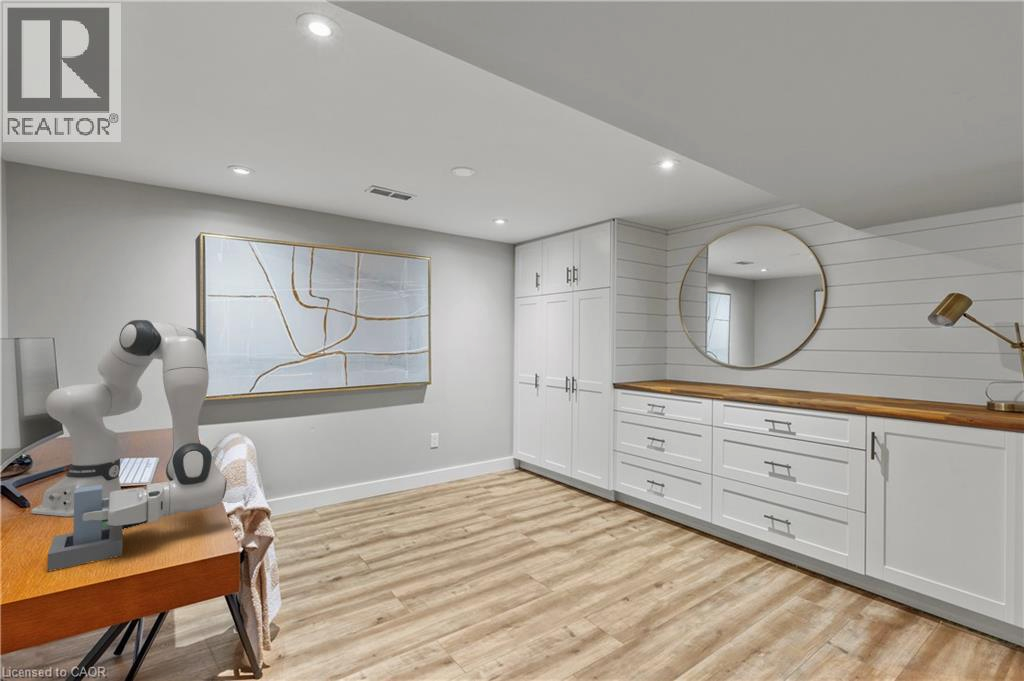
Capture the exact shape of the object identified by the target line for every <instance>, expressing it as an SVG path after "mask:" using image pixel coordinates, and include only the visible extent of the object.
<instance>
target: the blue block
mask: <svg viewBox="0 0 1024 681" xmlns="http://www.w3.org/2000/svg"><path fill="white" fill-rule="evenodd" d="M102 485H103V484H102ZM102 485H95V486H88V487H80V488H76V489H75V492H74V516H73V527H72V528H73V530H72V531H73V532H72V533H73V546H75V545H80V544H85V543H90V542H96V541H101V540H102V520H88V521H83V513H84V512H89V511H102Z"/></svg>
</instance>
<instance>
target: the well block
mask: <svg viewBox="0 0 1024 681" xmlns="http://www.w3.org/2000/svg"><path fill="white" fill-rule="evenodd" d="M123 539H124V538H123V530H122V525H119V526H107V527H102V540H101V541H96V542H90V543H85V544H80V545H75V546H73V532H69V533H64V534H58V535H54V536H53V538H52V541H51V544H50V547H49V550H48V552H47V571H50V570H54V569H60V568H64V569H67V568H66V567H69V568H72V567H71V566H74V567H76V566H75V565H78V564H83V563H86V562H91V561H97V560H101V561H103V560H102V559H106V560H108V559H107V558H111V557H115V556H120V555H122V556H123ZM120 557H121V556H120ZM115 558H116V557H115ZM111 559H112V558H111ZM97 562H98V561H97ZM83 565H84V564H83ZM78 566H79V565H78ZM60 570H61V569H60ZM47 571H46V572H47ZM50 572H51V571H50Z"/></svg>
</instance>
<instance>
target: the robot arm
mask: <svg viewBox="0 0 1024 681" xmlns="http://www.w3.org/2000/svg"><path fill="white" fill-rule="evenodd" d="M205 348H206V340H205V336H204V335H203V333H202V332H200V331H199V330H196V329H194V328H190V327H184V326H182V325H181V326H180V325H178V324H173V323H165V322H159V321H158V322H157V321H150V320H146V319H136V320H135V319H134V320H130V321H129V322H127V323H126V324H125V325H124V326H123V327H122V329H121V331H120V334H119V336H118V338H117V339H116V340H115V341H114V342H113V344H111V346H110V348H109V349H108V350H107V351H106V353H105V354H104V356H103V357H102V358H101V359H100V361H99V362H98V364H97V370H98V374H99V375H100V376H101V377H102V379H101V381H99V382H94V383H84V384H83V383H81V384H72V385H68V386H64V387H60V388H58V389H57V388H56V389H54V390H53V391H51V392H50V393H49V395H48V396H47V398H46V400H45V409H46V412H47V414H48V415H49V416H50V417H51V419H53V420H56V421H58V422H59V423H60V424H61V425H63V426H64V428H65V429H66V430H67V432H68V434H69V437H70V440H71V450H72V451H71V452H72V455H71V456H72V457H71V460H72V463H71V464H69V465H67V466H62V468H63V469H62V471H63V472H64V471H66V474H65V476H64V477H63V478H61V479H60V480H58V481H57V482H56V483H55V484H53V485H51V486H50V487H49V488H47V489H46V490H45V491H44V494H43V496H42V500H41V504H40V505H37V506H35V507H33V508H31V510H30V514H35V515H36V514H37V515H45V516H46V515H48V516H58V517H65V518H67V517H68V518H69V517H74V492H75V489H76V488H80V487H88V486H95V485H102V484H103V485H102V511H89V512H84V513H83V521H88V520H105V519H108V525H110V526H119V525H127V524H134V523H140V522H144V521H146V520H147V522H148V523H149V524H151V523H156V522H158V521H160V520H161V518H163V517H167V516H171V515H174V514H177V513H182V512H184V513H188V512H189V513H190V512H195V511H200V510H204V509H205V510H206V509H207V508H211V507H214V506H218V505H219V504H220V503H221V501H222V500H223V499H224V497H225V494H226V491H227V485H228V483H227V477H226V475H224V474H223V473H222V472H221V471H220V470H219V468H218V466H217V465H216V463H215V461H214V458H213V455H212V453H211V450H210V448H208V447H207V446H206V445H204V444H202V443H200V442H199V441H200V440H199V436H200V435H199V417H200V416H199V415H200V412H201V409H202V406H203V404H204V402H205V399H206V396H207V394H208V390H209V389H208V388H209V379H210V376H209V374H210V373H209V366H208V358H207V354H206V350H205ZM154 359H156V360H161V361H162V382H163V388H164V393H165V397H166V399H167V403H168V406H169V410H170V415H171V420H172V453H171V457H170V458H169V459H168V462H167V464H166V468H165V475H166V477H167V479H168V480H169V481H162V482H156V483H155V482H154V483H147V484H146V489H145V488H143V487H136V488H127V489H126V488H125V489H122V488H121V480H120V471H121V458H120V457H119V454H120V452H119V451H120V446H119V444H120V438H119V435H118V434H117V432H115V431H113V430H111V429H109V428H107V427H106V426H105V423H104V419H103V418H105V417H113V416H121V415H123V414H126V413H129V412H131V411H135V410H136V409H138V407H140V405H141V403H142V399H143V394H142V391H141V389H140V387H139V386H138V382H139V380H140V378H141V377H142V376H143V374H144V373H145V372H146V370H147V368H148V367H149V366H150V364H151V363H152V362H153V360H154ZM148 523H147V524H148Z"/></svg>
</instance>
